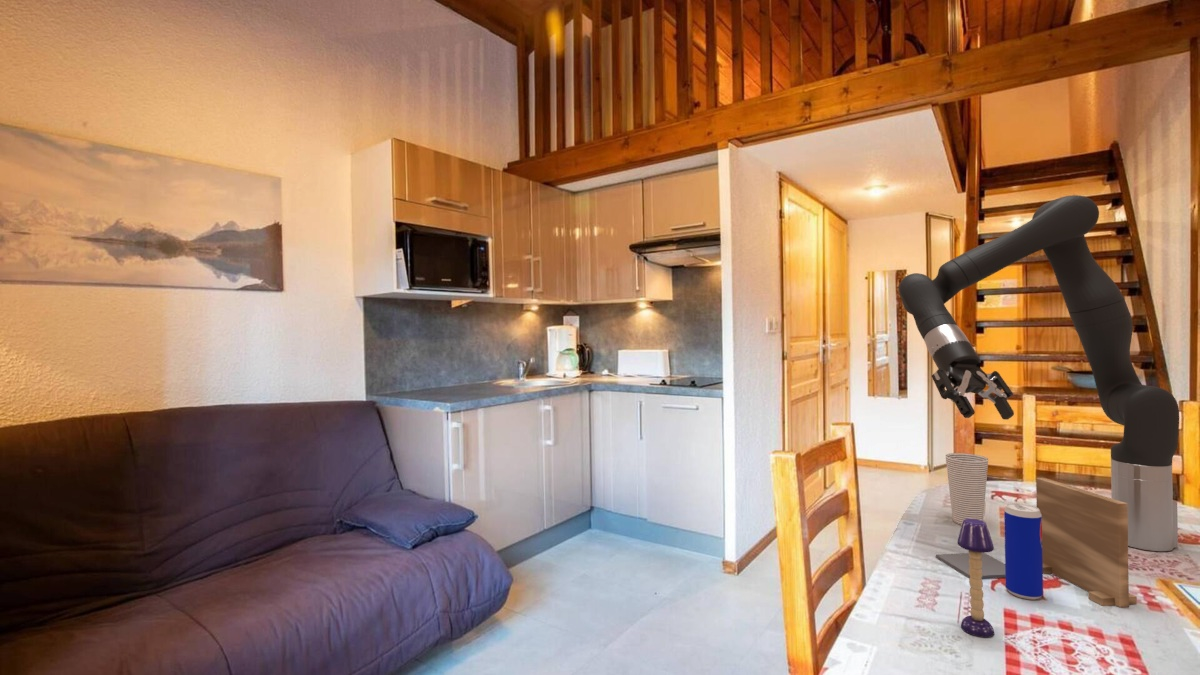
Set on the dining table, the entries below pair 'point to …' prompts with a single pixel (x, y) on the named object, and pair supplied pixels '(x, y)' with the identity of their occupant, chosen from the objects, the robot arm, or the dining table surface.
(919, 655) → the dining table surface
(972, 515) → the cup
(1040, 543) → the beverage can
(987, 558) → the felt pad
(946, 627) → the dining table surface
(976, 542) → the toy lamp
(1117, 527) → the oak board
